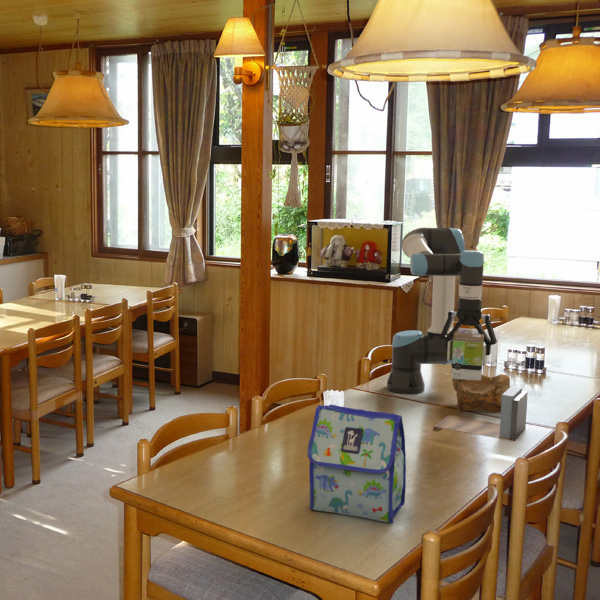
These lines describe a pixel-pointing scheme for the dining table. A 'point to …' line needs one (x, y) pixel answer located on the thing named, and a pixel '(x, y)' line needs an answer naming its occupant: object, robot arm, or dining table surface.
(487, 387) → the rough brown rock
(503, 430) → the grey upright block
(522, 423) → the gray square slab
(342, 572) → the dining table surface
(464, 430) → the shelf board
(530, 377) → the dining table surface
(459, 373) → the tea box
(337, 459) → the lunch bag
